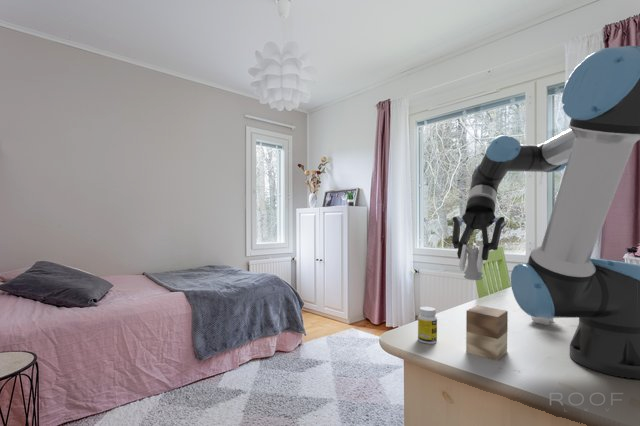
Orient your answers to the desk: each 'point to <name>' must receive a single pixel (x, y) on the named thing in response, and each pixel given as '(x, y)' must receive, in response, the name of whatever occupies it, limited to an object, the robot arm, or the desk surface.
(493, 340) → the beech block
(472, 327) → the walnut block
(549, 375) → the desk surface
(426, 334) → the supplement bottle
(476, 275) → the rook chess piece
